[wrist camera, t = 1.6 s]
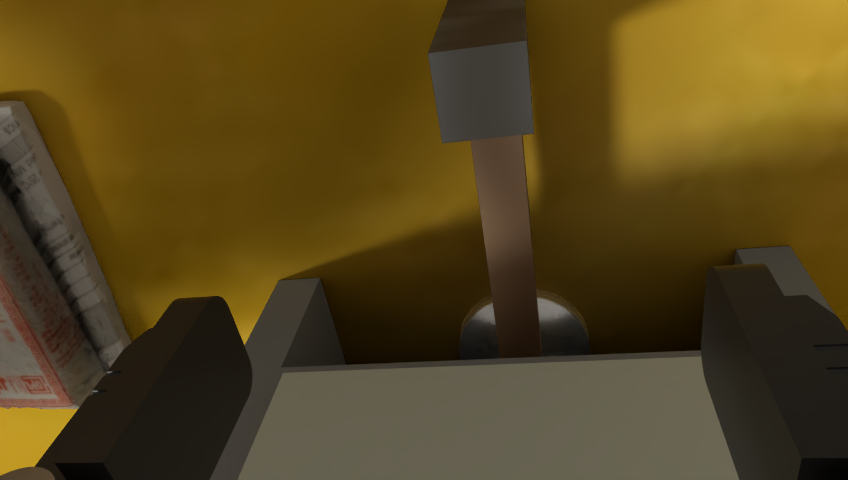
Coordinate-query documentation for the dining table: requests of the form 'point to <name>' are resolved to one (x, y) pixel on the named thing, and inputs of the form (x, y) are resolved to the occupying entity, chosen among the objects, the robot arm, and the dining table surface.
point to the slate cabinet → (474, 407)
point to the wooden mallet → (493, 147)
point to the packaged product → (47, 281)
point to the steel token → (557, 329)
